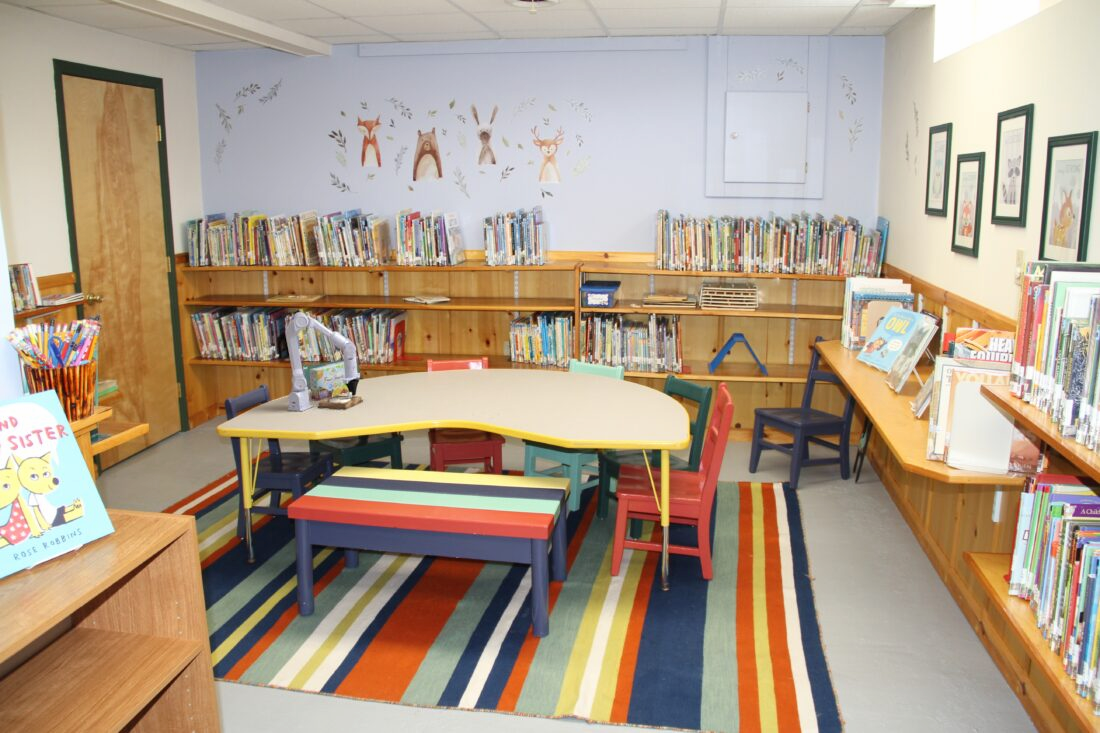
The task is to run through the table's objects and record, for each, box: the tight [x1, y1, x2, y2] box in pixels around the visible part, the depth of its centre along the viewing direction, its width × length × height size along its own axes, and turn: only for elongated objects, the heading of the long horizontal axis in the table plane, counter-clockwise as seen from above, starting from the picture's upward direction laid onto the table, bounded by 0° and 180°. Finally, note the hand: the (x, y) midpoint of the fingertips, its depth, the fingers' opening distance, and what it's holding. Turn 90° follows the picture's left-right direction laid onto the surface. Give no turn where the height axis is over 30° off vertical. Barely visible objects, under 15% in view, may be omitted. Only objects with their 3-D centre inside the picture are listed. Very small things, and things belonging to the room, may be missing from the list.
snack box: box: [308, 361, 349, 401], centre depth 425 cm, size 21×6×15 cm, turn 146°
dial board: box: [316, 395, 364, 411], centre depth 406 cm, size 15×15×3 cm
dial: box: [329, 392, 352, 403], centre depth 406 cm, size 10×10×4 cm
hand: (353, 395), depth 410 cm, fingers closed
